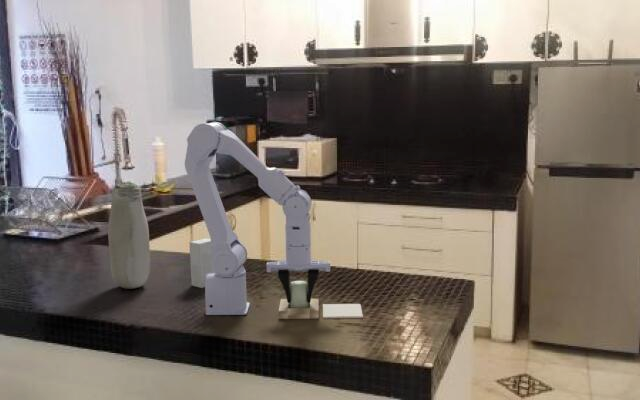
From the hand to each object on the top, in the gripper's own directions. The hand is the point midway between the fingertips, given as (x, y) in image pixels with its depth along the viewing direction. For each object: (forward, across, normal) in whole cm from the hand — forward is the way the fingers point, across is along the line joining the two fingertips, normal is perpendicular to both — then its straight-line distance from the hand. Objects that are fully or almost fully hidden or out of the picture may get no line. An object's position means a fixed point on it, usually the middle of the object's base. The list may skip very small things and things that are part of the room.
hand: (299, 301), depth 154 cm
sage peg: (+3, 0, 0) cm, 3 cm away
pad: (+3, +10, 0) cm, 10 cm away
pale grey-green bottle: (+3, -45, +22) cm, 50 cm away
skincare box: (+3, -26, +24) cm, 35 cm away
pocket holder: (+3, 0, 0) cm, 3 cm away
